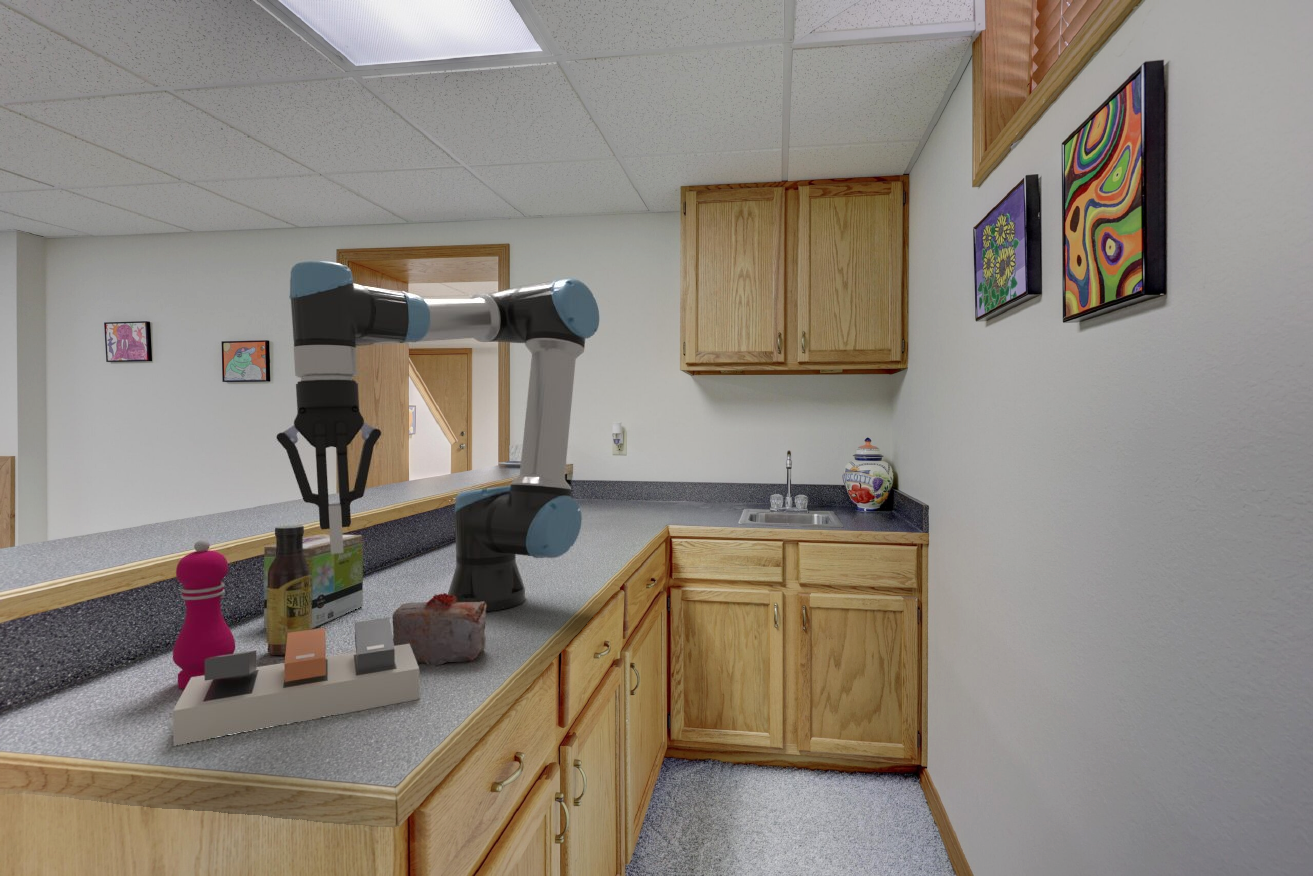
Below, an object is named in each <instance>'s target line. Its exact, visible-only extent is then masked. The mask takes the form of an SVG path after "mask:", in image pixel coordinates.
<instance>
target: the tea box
mask: <svg viewBox="0 0 1313 876" xmlns="http://www.w3.org/2000/svg"><path fill="white" fill-rule="evenodd" d="M342 535H343V553H337V554H331V548H330V533H329V534H328V533H326V534H325V533H323V534H322V533H321V534H320V533H319V534H315V535H314V534H313V535H310V536H307V537H303V554H304V557H305V559H306V562H307V565H308V568H309V570H310V573H311V577H312V582H311V589H312V610H311V614H312V630H313V629H316V627H318V626H320V625H322V624H325V623H327V622H329V621H332V620H333V619H336V618H337V619H338V618H339V617H341V616H345V615H346V613H347V614H349V613H351V611H352V612H354V611H356V610H355V609H357V608H360V607H363V605H364V604H363V602H364V586H363V584H364V583H363V581H364V580H363V579H364V577H363V576H364V574H363V569H364V568H363V567H364V559H363V554H364V553H363V551H364V550H363V549H364V546H363V545H364V543H363V541H364V540H363V535H361V534H360V535H359V534H358V535H357V534H342ZM263 550H264V552H263V556H264V558H263V559H264V560H263V561H264V563H263V564H264V565H263V574H264V575H263V601H264V603H263V605H264V608H263V626H264V628H267V586H268V570H269V567H270V566H271V564H272V562H273V561H274V559H275V558H276V544H271V545H270V544H269V545H265V546H264V549H263ZM360 609H361V608H360ZM353 610H354V611H353ZM357 610H358V609H357ZM348 612H349V613H348Z"/></svg>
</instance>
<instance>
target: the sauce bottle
mask: <svg viewBox="0 0 1313 876" xmlns="http://www.w3.org/2000/svg"><path fill="white" fill-rule="evenodd" d="M304 534H305V527H304V525H301V524H291V525H290V524H288V525H279V526H276V527H274V535H275V539H276V542H275V543H276V558H275V559H274V561H273V562H272V564H271V566H270V567H269V570H268V586H267V627H266V643H267V652H268V654H270V655H272V656H285V653H286V644H287V635H288V633H291V632H298V631H305V630H313V629H312V614H311V610H312V589H311V582H312V577H311V573H310V570H309V568H308V565H307V562H306V559H305V557H304V554H303V538H304Z"/></svg>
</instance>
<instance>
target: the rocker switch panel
mask: <svg viewBox="0 0 1313 876" xmlns="http://www.w3.org/2000/svg"><path fill="white" fill-rule="evenodd" d="M394 648H395V665H392V666H386V667H380V668H374V669H368V670H362V671H357V659H356V651H353V652H347V653H339V654H335V655H326V675H324V676H318V677H312V678H306V679H300V680H294V681H288V682H285V667H284V663H285V662H282V663H276V664H275V663H274V664H268V665H261V666H256V670H255V671H253V672H251V673H250V674H245V675H238V676H232V677H226V678H219V679H213V680H207V681H205V675H203V676H197V677H191V679H190V681H189V682H188V684H187V686H186V688H185V690H183V692H182V693H181V695H180V697H179V699H178V701H177V702H176V705H175V706H174V708H173V709H172V730H173V731H172V732H173V734H172V735H173V739H172V740H173V747H177V746H176V745H178V746H183V745H187V743H189V744H191V743H190V742H194V743H197V742H196V741H199V742H203V741H202V740H204V741H206V740H205V739H209V740H211V739H210V738H215V737H217V736H224V735H228V734H234V733H238V732H244V731H250V730H256V729H260V728H266V727H270V726H277V725H282V724H287V723H292V722H298V723H301V721H303V722H307V720H308V721H311V720H312V719H313V720H316V719H315V718H318V719H321V718H320V717H323V716H329V717H332V716H331V715H334V716H337V715H338V714H339V715H343V714H348V713H354V712H358V711H365V710H370V709H375V708H380V707H384V706H390V705H394V704H401V703H406V702H411V701H417V700H421V697H420V695H421V694H420V693H421V691H420V690H421V689H420V688H421V687H420V685H421V683H420V666H419V665H418V664H419V663H417V661H416V659H415V656H414V654H413V651H412V648H411V646H410V644H404V645H397V646H394ZM313 720H312V721H313ZM287 725H288V724H287ZM282 726H283V725H282ZM277 727H278V726H277ZM256 731H257V730H256ZM215 739H216V738H215ZM182 744H183V745H182Z"/></svg>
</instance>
